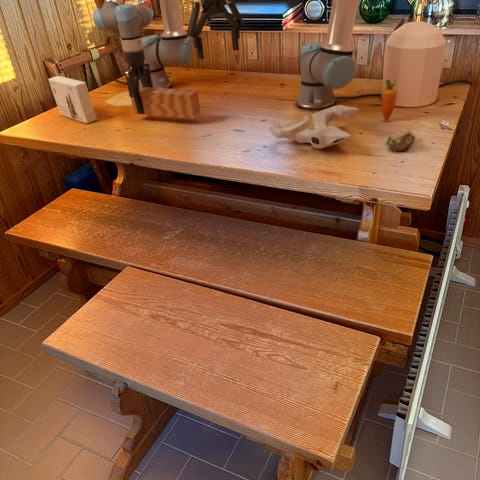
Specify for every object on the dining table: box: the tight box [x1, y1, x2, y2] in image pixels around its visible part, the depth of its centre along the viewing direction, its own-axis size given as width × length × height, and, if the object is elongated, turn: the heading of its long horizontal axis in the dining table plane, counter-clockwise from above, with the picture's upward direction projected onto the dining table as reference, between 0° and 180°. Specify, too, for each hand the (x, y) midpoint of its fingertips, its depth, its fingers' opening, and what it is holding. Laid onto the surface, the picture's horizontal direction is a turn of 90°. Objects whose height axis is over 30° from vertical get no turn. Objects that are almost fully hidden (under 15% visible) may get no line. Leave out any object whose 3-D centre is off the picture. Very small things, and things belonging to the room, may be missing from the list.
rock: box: [387, 129, 416, 152], centre depth 146 cm, size 11×6×10 cm
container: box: [380, 20, 447, 108], centre depth 175 cm, size 21×21×28 cm
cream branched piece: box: [268, 104, 360, 150], centre depth 153 cm, size 28×26×12 cm
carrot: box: [380, 79, 397, 122], centre depth 161 cm, size 5×5×15 cm
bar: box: [130, 87, 201, 120], centre depth 181 cm, size 28×6×9 cm, turn 65°
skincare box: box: [47, 75, 98, 124], centre depth 192 cm, size 21×6×16 cm, turn 49°
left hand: (145, 110), depth 187 cm, fingers closed on bar, 5 cm apart
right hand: (218, 54), depth 152 cm, fingers open, 13 cm apart
